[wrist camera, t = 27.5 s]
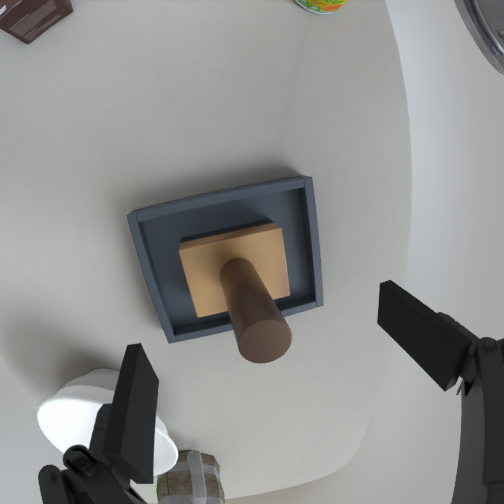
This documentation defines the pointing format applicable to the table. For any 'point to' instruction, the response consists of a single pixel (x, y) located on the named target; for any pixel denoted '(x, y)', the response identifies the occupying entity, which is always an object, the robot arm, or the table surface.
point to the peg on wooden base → (242, 284)
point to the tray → (219, 217)
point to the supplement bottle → (321, 5)
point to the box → (31, 16)
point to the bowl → (93, 416)
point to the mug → (191, 481)
